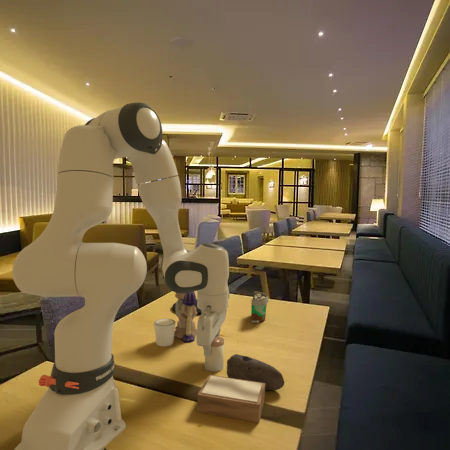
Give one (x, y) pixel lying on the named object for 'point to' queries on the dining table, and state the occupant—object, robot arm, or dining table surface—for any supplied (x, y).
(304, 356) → the dining table surface
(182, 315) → the figurine
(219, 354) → the cream canister
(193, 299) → the toy lamp
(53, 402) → the robot arm
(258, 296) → the food container
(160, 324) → the shot glass
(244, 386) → the walnut plinth
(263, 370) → the brown oblong lump
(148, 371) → the dining table surface
